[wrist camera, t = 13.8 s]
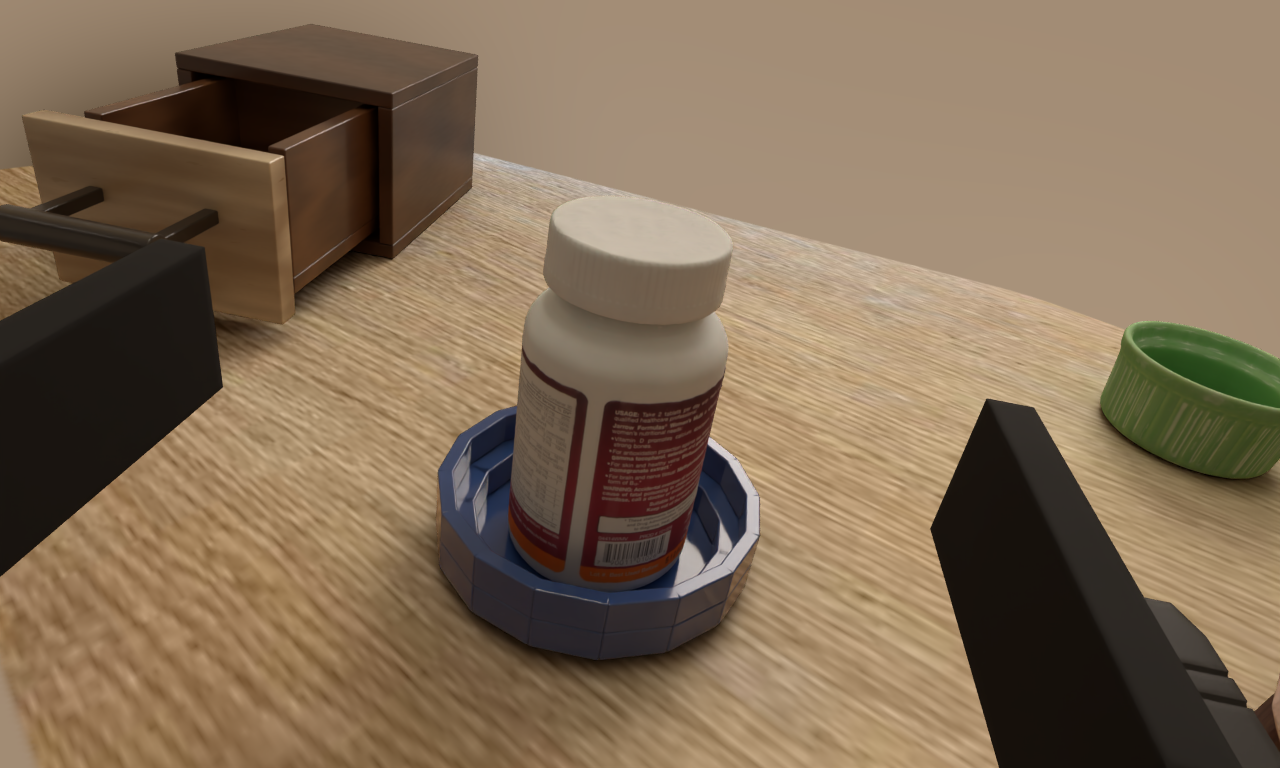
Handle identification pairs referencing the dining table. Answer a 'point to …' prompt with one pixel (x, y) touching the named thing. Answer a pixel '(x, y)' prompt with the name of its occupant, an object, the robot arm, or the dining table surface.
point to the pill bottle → (617, 390)
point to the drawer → (207, 186)
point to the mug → (1271, 716)
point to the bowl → (578, 615)
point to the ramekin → (1196, 399)
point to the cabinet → (381, 76)
